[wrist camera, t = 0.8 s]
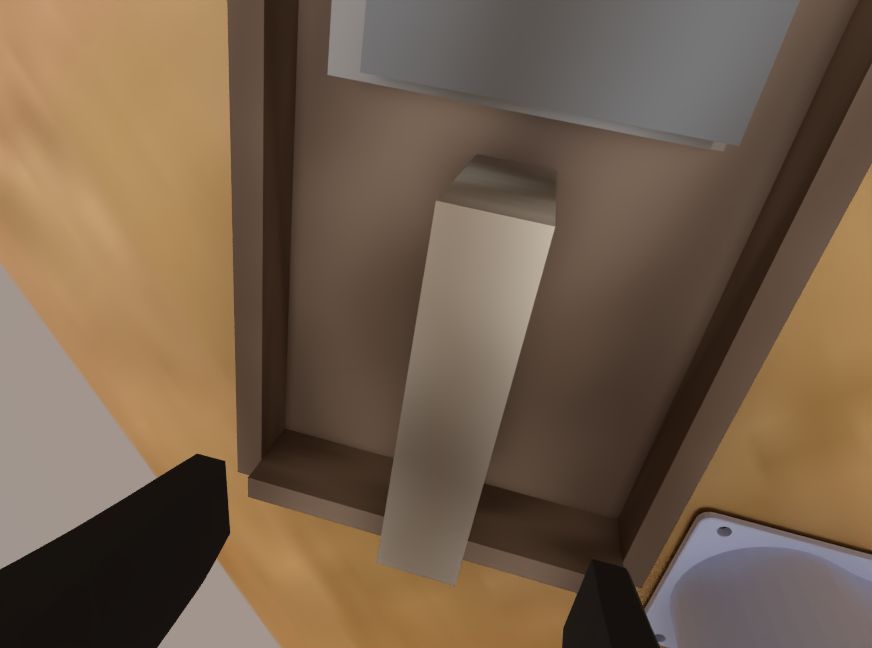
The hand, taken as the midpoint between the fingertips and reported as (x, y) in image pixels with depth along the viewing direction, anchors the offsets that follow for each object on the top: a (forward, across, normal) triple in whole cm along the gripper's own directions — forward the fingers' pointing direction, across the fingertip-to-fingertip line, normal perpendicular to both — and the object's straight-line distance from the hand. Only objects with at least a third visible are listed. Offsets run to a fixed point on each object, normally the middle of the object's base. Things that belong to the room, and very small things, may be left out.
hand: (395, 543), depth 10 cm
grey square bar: (+9, -1, -9) cm, 13 cm away
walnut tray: (+10, 0, -3) cm, 11 cm away
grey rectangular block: (+9, 0, 0) cm, 9 cm away
